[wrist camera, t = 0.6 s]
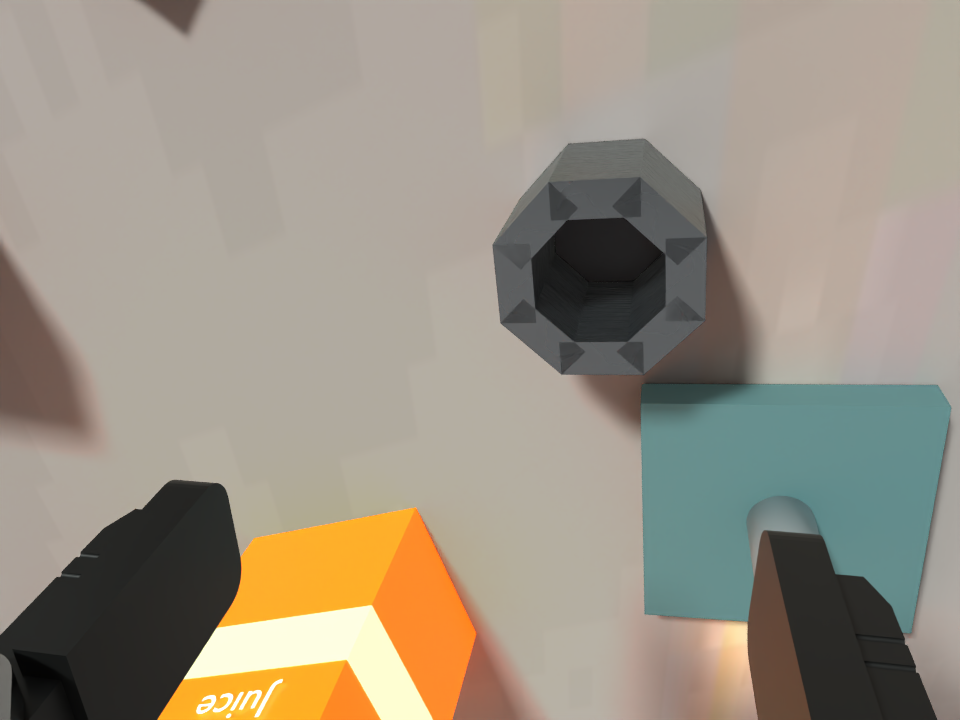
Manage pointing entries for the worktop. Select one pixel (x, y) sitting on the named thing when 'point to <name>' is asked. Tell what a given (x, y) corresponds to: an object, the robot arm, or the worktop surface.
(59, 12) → the worktop surface
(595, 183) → the tube
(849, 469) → the shaft stand
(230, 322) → the worktop surface
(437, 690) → the orange juice
